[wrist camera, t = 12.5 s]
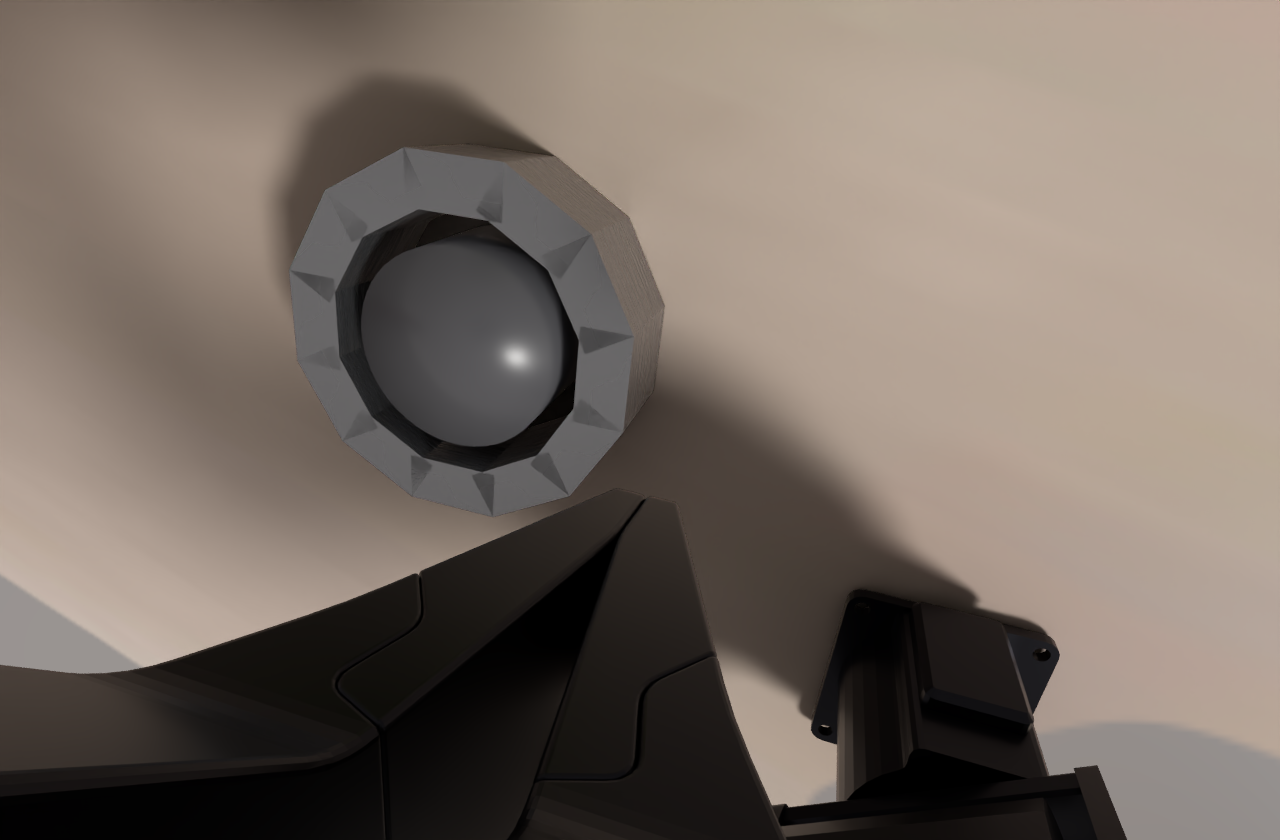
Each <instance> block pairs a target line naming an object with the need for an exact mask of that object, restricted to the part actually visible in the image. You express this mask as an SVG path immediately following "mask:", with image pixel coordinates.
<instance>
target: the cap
mask: <svg viewBox="0 0 1280 840" xmlns="http://www.w3.org/2000/svg"><path fill="white" fill-rule="evenodd" d="M361 332H362V341H363V346H364V351H365V355H366V358H367V361H368V364H369V367H370V369H371V371H372V373H373V375H374V378H375V379H376V381H377V383H378V385H379V386H380V388H381V390H382V391H383V393H384V394H385V395H386V397H387V398H388V400H389V401H390V402H391V403H392V404H393V405H394V407H395V408H396V409H397V410H398V411H399V412H400V413H401V414H402V415H403V416H404V417H405V418H407V419H408V420H409V421H410V422H412V423H413V424H414V425H415V426H417V427H418V428H420V429H422V430H423V431H425V432H426V433H428V434H430V435H432V436H434V437H436V438H438V439H441V440H444V441H447V442H449V443H453V444H458V445H463V446H473V447H475V446H489V445H494V444H498V443H501V442H504V441H507V440H509V439H510V438H512V437H514V436H516V435H517V434H519V433H520V432H521V431H523V430H524V429H525V428H526V427H527V426H528V425H529V424H530V423H531V422H532V421H534V420H535V419H536V418H537V417H538V416H539V415H540V414H541V413H542V412H543V411H544V410H545V409H546V408H547V407H548V406H549V405H550V404H551V403H552V402H553V401H554V400H555V399H556V398H557V397H558V396H559V395H560V394H561V393H562V392H563V391H564V390H565V389H566V388H567V387H568V386H569V385H570V384H571V383H572V382H573V381H574V380H575V379H576V372H577V360H578V347H579V339H578V337H577V335H576V332H575V330H574V328H573V326H572V323H571V321H570V319H569V317H568V314H567V312H566V310H565V308H564V305H563V303H562V301H561V299H560V296H559V294H558V292H557V289H556V287H555V285H554V283H553V280H552V278H551V276H550V274H549V271H548V270H547V269H546V268H545V267H544V266H542V265H541V264H540V263H539V262H537V261H536V260H535V259H534V258H533V257H531V256H530V255H529V254H528V253H526V252H525V251H524V250H523V249H522V248H520V247H519V246H518V245H517V244H516V243H514V242H513V241H512V240H511V239H509V238H508V237H507V236H506V235H505V234H503V233H502V232H501V231H500V230H498V229H497V228H496V227H495V226H494V225H487V226H481V227H477V228H474V229H471V230H468V231H465V232H462V233H459V234H456V235H453V236H450V237H447V238H444V239H441V240H438V241H435V242H432V243H429V244H426V245H423V246H420V247H417V248H414V249H411V250H408V251H405V252H404V253H402V254H400V255H398V256H396V257H394V258H393V259H392V260H390V261H389V262H388V263H386V264H385V265H384V266H383V267H382V268H381V270H380V271H379V272H378V273H377V274H376V276H375V277H374V279H373V280H372V282H371V284H370V286H369V288H368V291H367V293H366V296H365V300H364V303H363V309H362V315H361Z"/></svg>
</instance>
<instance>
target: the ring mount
mask: <svg viewBox="0 0 1280 840" xmlns="http://www.w3.org/2000/svg"><path fill="white" fill-rule="evenodd" d="M444 214H451V215H457V216H463V217H469V218H475V219H481V220H487V221H489V222H490V223H491V224H492V225H494V226H495V227H496V228H497V229H498V230H500V231H501V232H502V233H503V234H505V235H506V236H507V237H508V238H509V239H511V240H512V241H513V242H514V243H516V244H517V245H518V246H519V247H520V248H522V249H523V250H524V251H525V252H526V253H528V254H529V255H530V256H531V257H533V258H534V259H535V260H536V261H537V262H539V263H540V264H541V265H542V266H544V267H545V268H546V269H547V270H548V271H549V274H550V276H551V278H552V280H553V283H554V285H555V287H556V289H557V292H558V294H559V296H560V299H561V301H562V303H563V305H564V308H565V310H566V312H567V314H568V317H569V319H570V321H571V323H572V326H573V328H574V330H575V332H576V335H577V337H578V339H579V347H578V360H577V372H576V385H575V397H574V409H573V410H572V411H571V412H570V414H569V415H567V416H564V417H561V418H558V419H554V420H551V421H548V422H545V423H542V424H539V425H536V426H533V427H530V428H525V429H524V430H523V431H521V432H520V433H519V434H517V435H516V436H514V437H512V438H510V439H509V440H507V441H504V442H501V443H498V444H494V445H489V446H475V447H473V446H463V445H458V444H453V443H449V442H447V441H444V440H441V439H438V438H436V437H434V436H432V435H430V434H428V433H426V432H425V431H423V430H422V429H420V428H418V427H417V426H415V425H414V424H413V423H412V422H410V421H409V420H408V419H407V418H405V417H404V416H403V415H402V414H401V413H400V412H399V411H398V410H397V409H396V408H395V407H394V405H393V404H392V403H391V402H390V401H389V400H388V398H387V397H386V395H385V394H384V393H383V391H382V390H381V388H380V386H379V385H378V383H377V381H376V379H375V378H374V375H373V373H372V371H371V369H370V367H369V364H368V361H367V358H366V355H365V351H364V346H363V341H362V332H361V315H362V309H363V303H364V300H365V296H366V293H367V291H368V288H369V286H370V284H371V282H372V280H373V279H374V277H375V276H376V274H377V273H378V272H379V271H380V270H381V268H382V267H383V266H384V265H385V264H386V263H388V262H389V261H390V260H392V259H393V258H394V257H396V256H398V255H400V254H402V253H404V252H405V251H408V250H411V249H414V248H415V247H416V245H417V243H418V241H419V239H420V238H421V236H422V234H423V232H424V230H425V228H426V227H427V225H428V223H429V221H431V220H433V219H435V218H437V217H439V216H441V215H444ZM289 275H290V286H291V297H292V307H293V318H294V328H295V339H296V350H297V360H298V362H299V364H300V366H301V368H302V369H303V371H304V373H305V375H306V377H307V378H308V380H309V382H310V384H311V386H312V387H313V389H314V391H315V393H316V394H317V396H318V398H319V400H320V402H321V403H322V405H323V407H324V409H325V410H326V412H327V414H328V416H329V418H330V419H331V421H332V423H333V425H334V427H335V428H336V430H337V432H338V434H339V435H340V437H341V439H342V441H343V442H345V443H346V444H347V445H348V446H350V447H351V448H352V449H353V450H355V451H356V452H357V453H358V454H360V455H361V456H362V457H363V458H365V459H366V460H367V461H368V462H370V463H371V464H372V465H373V466H375V467H376V468H377V469H378V470H380V471H381V472H382V473H383V474H385V475H386V476H387V477H388V478H390V479H391V480H392V481H393V482H395V483H396V484H397V485H398V486H400V487H401V488H402V489H403V490H405V491H406V492H407V493H408V494H410V495H411V496H413V497H416V498H420V499H424V500H428V501H432V502H436V503H440V504H444V505H448V506H452V507H456V508H460V509H463V510H467V511H471V512H475V513H479V514H483V515H487V516H491V517H495V516H498V515H502V514H506V513H509V512H513V511H517V510H521V509H524V508H528V507H532V506H535V505H539V504H543V503H546V502H550V501H554V500H557V499H561V498H565V497H568V496H570V495H571V494H572V493H573V491H574V490H575V489H576V488H577V487H578V485H579V484H580V483H581V482H582V481H583V480H584V478H585V477H586V476H587V475H588V474H589V472H590V471H591V470H592V469H593V468H594V467H595V465H596V464H597V463H598V462H599V461H600V459H601V458H602V457H603V456H604V455H605V453H606V452H607V451H608V450H609V449H610V448H611V446H612V445H613V444H614V443H615V442H616V440H617V439H618V438H619V437H620V436H621V435H622V433H623V432H624V431H625V429H626V428H627V427H628V425H629V424H630V422H631V421H632V420H633V418H634V417H635V416H636V414H637V413H638V411H639V410H640V409H641V407H642V406H643V404H644V403H645V402H646V400H647V399H648V398H649V396H650V395H651V393H652V392H653V391H654V383H655V376H656V368H657V360H658V353H659V345H660V338H661V330H662V322H663V315H664V307H665V306H664V303H663V301H662V298H661V296H660V293H659V291H658V288H657V286H656V283H655V281H654V278H653V276H652V273H651V271H650V268H649V266H648V263H647V261H646V258H645V256H644V253H643V251H642V248H641V246H640V243H639V241H638V238H637V236H636V233H635V231H634V228H633V226H632V223H631V221H630V218H629V217H628V216H627V215H625V214H624V213H623V212H622V211H621V210H619V209H618V208H617V207H616V206H615V205H613V204H612V203H611V202H610V201H609V200H607V199H606V198H605V197H604V196H602V195H601V194H600V193H599V192H598V191H596V190H595V189H594V188H593V187H592V186H590V185H589V184H588V183H587V182H586V181H584V180H583V179H582V178H581V177H580V176H578V175H577V174H576V173H575V172H574V171H572V170H571V169H570V168H569V167H568V166H566V165H565V164H564V163H563V162H562V161H560V160H559V159H558V158H557V157H555V156H550V155H543V154H536V153H529V152H522V151H515V150H508V149H501V148H494V147H487V146H481V145H474V144H452V145H433V146H414V147H403V148H401V149H399V150H397V151H395V152H394V153H392V154H390V155H388V156H386V157H384V158H383V159H381V160H379V161H377V162H375V163H374V164H372V165H370V166H368V167H366V168H364V169H363V170H361V171H359V172H357V173H355V174H353V175H352V176H350V177H348V178H346V179H344V180H342V181H341V182H339V183H337V184H335V185H333V186H332V187H330V188H328V189H326V190H325V191H324V194H323V196H322V198H321V200H320V202H319V205H318V207H317V209H316V211H315V213H314V216H313V218H312V220H311V222H310V225H309V227H308V229H307V231H306V233H305V236H304V238H303V240H302V242H301V244H300V247H299V249H298V251H297V253H296V256H295V258H294V260H293V262H292V264H291V267H290V269H289Z"/></svg>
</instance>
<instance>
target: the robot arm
mask: <svg viewBox="0 0 1280 840" xmlns="http://www.w3.org/2000/svg"><path fill="white" fill-rule="evenodd" d="M858 603H865V604H867V605H869V606H868V607H866V608H859V607H857V606H856V604H858ZM1039 648H1043V649H1046V651H1045V652H1042V653H1035V652H1034V651H1035V650H1036V649H1039ZM1059 655H1060V654H1059V651H1058V649H1057V646H1056V644H1055V641H1054V640H1053V639H1052V638H1051V637H1049V636H1047V635H1045V634H1041V633H1037V632H1033V631H1029V630H1025V629H1021V628H1017V627H1013V626H1009V625H1005V624H1001V623H1000V622H999V621H996V620H992V619H988V618H984V617H980V616H976V615H972V614H968V613H964V612H960V611H956V610H952V609H948V608H944V607H940V606H936V605H932V604H928V603H924V602H920V603H917V602H912V601H908V600H904V599H900V598H896V597H892V596H888V595H884V594H880V593H876V592H872V591H868V590H862V589H859V590H855V591H853V592H851V593H850V594H849V595H848V597H847V599H846V603H845V606H844V610H843V613H842V617H841V620H840V623H839V627H838V630H837V634H836V637H835V640H834V644H833V647H832V651H831V654H830V657H829V661H828V664H827V668H826V671H825V675H824V678H823V681H822V685H821V688H820V692H819V695H818V698H817V702H816V705H815V709H814V712H813V715H812V723H811V731H812V733H813V735H814V736H816V737H817V738H819V739H821V740H823V741H827V742H830V743H834V744H837V791H836V792H837V793H836V802H829V803H820V804H812V805H804V806H796V807H788V806H787V804H779V805H771V803H770V800H769V798H768V796H767V794H766V791H765V789H764V787H763V785H762V782H761V780H760V778H759V775H758V773H757V771H756V769H755V766H754V764H753V762H752V759H751V757H750V755H749V752H748V750H747V747H746V744H745V742H744V739H743V737H742V734H741V732H740V729H739V727H738V724H737V722H736V719H735V717H734V713H733V710H732V707H731V703H730V700H729V697H728V694H727V690H726V687H725V684H724V680H723V676H722V672H721V669H720V665H719V661H718V659H717V655H716V650H715V647H714V643H713V639H712V635H711V631H710V627H709V623H708V619H707V615H706V611H705V607H704V604H703V600H702V596H701V592H700V588H699V584H698V580H697V576H696V572H695V568H694V564H693V561H692V557H691V553H690V549H689V545H688V541H687V537H686V533H685V529H684V525H683V522H682V518H681V514H680V510H679V506H678V504H677V503H675V502H673V501H668V500H664V499H660V498H656V497H648V498H646V499H645V497H644V496H643V495H642V494H639V493H635V492H631V491H626V490H622V489H614V490H611V491H609V492H606V493H604V494H602V495H599V496H597V497H594V498H592V499H590V500H587V501H585V502H583V503H580V504H578V505H576V506H573V507H571V508H568V509H566V510H564V511H561V512H559V513H557V514H554V515H552V516H550V517H547V518H545V519H542V520H540V521H538V522H535V523H533V524H531V525H528V526H526V527H524V528H521V529H519V530H517V531H514V532H512V533H509V534H507V535H505V536H502V537H500V538H498V539H495V540H493V541H491V542H488V543H486V544H483V545H481V546H479V547H476V548H474V549H472V550H469V551H467V552H465V553H462V554H460V555H457V556H455V557H453V558H450V559H448V560H446V561H443V562H441V563H439V564H436V565H434V566H431V567H429V568H427V569H424V570H422V571H421V572H420V573H419V575H418V574H412V575H410V576H407V577H405V578H403V579H400V580H398V581H396V582H393V583H391V584H388V585H386V586H383V587H381V588H378V589H376V590H373V591H371V592H368V593H366V594H363V595H361V596H358V597H356V598H353V599H351V600H348V601H346V602H343V603H340V604H337V605H334V606H331V607H329V608H326V609H323V610H320V611H317V612H314V613H312V614H309V615H306V616H303V617H300V618H297V619H294V620H291V621H288V622H285V623H282V624H279V625H276V626H273V627H270V628H267V629H264V630H261V631H258V632H255V633H252V634H249V635H246V636H243V637H240V638H237V639H234V640H231V641H228V642H225V643H222V644H219V645H216V646H213V647H210V648H207V649H204V650H201V651H198V652H195V653H192V654H189V655H186V656H183V657H180V658H177V659H174V660H170V661H167V662H164V663H160V664H157V665H153V666H149V667H144V668H139V669H134V670H129V671H121V672H111V673H96V674H95V673H92V674H77V673H65V672H56V671H48V670H39V669H30V668H22V667H13V666H5V665H0V840H1127V838H1126V836H1125V833H1124V831H1123V828H1122V826H1121V823H1120V821H1119V819H1118V816H1117V813H1116V811H1115V808H1114V806H1113V803H1112V801H1111V798H1110V797H1109V793H1108V791H1107V788H1106V786H1105V783H1104V781H1103V779H1102V776H1101V773H1100V771H1099V768H1098V766H1097V765H1096V766H1088V767H1080V768H1074V771H1075V773H1070V774H1060V775H1053V776H1049V773H1048V769H1047V767H1046V763H1045V760H1044V757H1043V754H1042V750H1041V747H1040V744H1039V741H1038V737H1037V734H1036V731H1035V728H1034V725H1033V723H1034V717H1033V713H1034V711H1035V709H1036V707H1037V705H1038V703H1039V700H1040V698H1041V696H1042V694H1043V692H1044V690H1045V688H1046V686H1047V683H1048V681H1049V679H1050V677H1051V675H1052V673H1053V671H1054V669H1055V666H1056V664H1057V662H1058V660H1059ZM821 725H828V726H830V727H823V726H821Z"/></svg>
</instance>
